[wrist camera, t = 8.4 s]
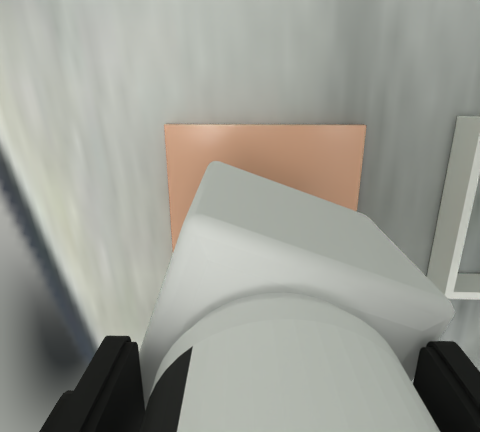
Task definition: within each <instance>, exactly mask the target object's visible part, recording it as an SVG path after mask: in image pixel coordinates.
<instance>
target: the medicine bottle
mask: <svg viewBox="0 0 480 432" xmlns="http://www.w3.org/2000/svg"><path fill="white" fill-rule="evenodd" d="M454 315H455V310H454V307H453V305H452V303H451V301H450V300H449V299H448V298H447V297H446V296H445V295H444V294H443V293H442V292H441V291H440V290H439V289H438V288H437V287H436V286H435V285H434V284H433V283H432V282H431V281H430V280H429V279H428V278H427V277H426V276H425V275H424V274H423V272H422V271H421V270H420V269H419V268H418V267H417V266H416V265H415V264H414V263H413V262H412V261H411V260H410V259H409V258H408V257H407V256H406V255H405V254H404V253H403V252H402V251H401V250H400V249H399V248H398V247H397V246H396V245H395V244H394V243H393V242H392V241H391V240H390V239H389V238H388V237H387V236H386V235H385V234H384V233H383V231H382V230H381V229H380V228H379V227H378V226H377V225H376V224H375V223H374V222H373V221H372V220H371V219H370V218H369V217H368V216H366V215H365V214H362V213H360V212H357V211H354V210H351V209H349V208H346V207H343V206H340V205H338V204H335V203H332V202H329V201H327V200H324V199H321V198H318V197H316V196H313V195H310V194H308V193H305V192H302V191H299V190H297V189H294V188H291V187H288V186H286V185H283V184H280V183H277V182H275V181H272V180H269V179H266V178H264V177H261V176H258V175H255V174H253V173H250V172H247V171H244V170H242V169H239V168H236V167H233V166H231V165H228V164H225V163H223V162H220V161H213V162H211V163H210V164H209V165H208V166H207V169H206V171H205V173H204V176H203V178H202V180H201V183H200V185H199V187H198V190H197V192H196V194H195V197H194V199H193V201H192V204H191V206H190V208H189V211H188V213H187V215H186V218H185V220H184V222H183V225H182V228H181V231H180V234H179V237H178V240H177V243H176V246H175V249H174V252H173V254H172V257H171V260H170V263H169V266H168V269H167V272H166V275H165V278H164V281H163V284H162V287H161V290H160V293H159V296H158V299H157V302H156V305H155V308H154V311H153V313H152V316H151V319H150V322H149V325H148V328H147V331H146V334H145V337H144V340H143V343H142V346H141V349H140V352H139V360H140V369H141V378H142V387H143V395H144V404H145V414H144V417H143V420H142V424H141V427H140V430H139V432H440V431H439V429H438V427H437V425H436V424H435V422H434V420H433V418H432V417H431V415H430V413H429V411H428V410H427V408H426V406H425V405H424V403H423V401H422V399H421V398H420V396H419V394H418V392H417V391H416V389H415V387H414V385H413V384H412V382H411V381H412V380H413V378H414V377H415V372H416V367H417V362H418V357H419V352H420V349H421V348H422V347H426V345H427V343H428V342H430V341H439V339H440V338H441V336H442V335H443V333H444V332H445V330H446V328H447V327H448V325H449V324H450V322H451V321H452V319H453V318H454Z"/></svg>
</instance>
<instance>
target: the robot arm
mask: <svg viewBox="0 0 480 432" xmlns="http://www.w3.org/2000/svg"><path fill="white" fill-rule="evenodd" d="M413 385H414V387H415V389H416V391H417V392H418V394H419V396H420V398H421V399H422V401H423V403H424V405H425V406H426V408H427V410H428V411H429V413H430V415H431V417H432V418H433V420H434V422H435V424H436V425H437V427H438V429H439V431H440V432H480V372H479V371H478V369H477V368H476V367H475V366H474V364H473V363H472V362H471V361H470V359H469V358H468V357H467V356H466V354H465V353H464V352H463V351H462V349H461V348H460V347H459V346H458V345H457V344H456V343H455V342H453V341H430V342H428V343H427V345H426V347H422V348H421V349H420V352H419V357H418V362H417V367H416V372H415V377H414V382H413ZM144 414H145V404H144V395H143V387H142V378H141V369H140V360H139V351H138V344H137V342H131V339H130V337H129V336H106V337H105V338H104V340H103V341H102V343H101V345H100V346H99V348H98V350H97V352H96V353H95V355H94V357H93V359H92V360H91V362H90V364H89V366H88V367H87V369H86V371H85V373H84V374H83V376H82V378H81V379H80V381H79V383H78V385H77V386H76V388H75V390H74V391H66V392H65V393H63V395H62V396H61V397H60V399H59V400H58V402H57V403H56V405H55V407H54V409H53V410H52V412H51V413H50V415H49V417H48V418H47V420H46V422H45V423H44V425H43V427H42V428H41V430H40V431H39V432H139V430H140V427H141V424H142V420H143V417H144Z"/></svg>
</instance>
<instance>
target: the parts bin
mask: <svg viewBox="0 0 480 432" xmlns="http://www.w3.org/2000/svg"><path fill="white" fill-rule="evenodd" d="M479 176H480V116H458V117H457V122H456V127H455V132H454V137H453V143H452V148H451V153H450V158H449V163H448V169H447V174H446V179H445V184H444V189H443V195H442V200H441V205H440V210H439V215H438V221H437V226H436V231H435V236H434V241H433V247H432V252H431V257H430V262H429V267H428V273H427V278H428V279H429V280H430V281H431V282H432V283H433V284H434V285H435V286H436V287H437V288H438V289H439V290H440V291H441V292H442V293H443V294H444V295H445V296H446V297H447V298H448V299H480V274H475V273H458V270H459V265H460V261H461V256H462V252H463V247H464V243H465V238H466V234H467V229H468V225H469V220H470V216H471V211H472V207H473V202H474V198H475V194H476V189H477V185H478V180H479Z"/></svg>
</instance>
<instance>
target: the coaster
mask: <svg viewBox="0 0 480 432" xmlns="http://www.w3.org/2000/svg"><path fill="white" fill-rule="evenodd" d="M164 129H165V144H166V158H167V173H168V188H169V203H170V217H171V232H172V247H173V252H174V249H175V246H176V243H177V240H178V237H179V234H180V231H181V228H182V225H183V222H184V220H185V218H186V215H187V213H188V211H189V208H190V206H191V204H192V201H193V199H194V197H195V194H196V192H197V190H198V187H199V185H200V183H201V180H202V178H203V176H204V173H205V171H206V169H207V166H208V165H209V164H210V163H211V162H213V161H220V162H223V163H225V164H228V165H231V166H233V167H236V168H239V169H242V170H244V171H247V172H250V173H253V174H255V175H258V176H261V177H264V178H266V179H269V180H272V181H275V182H277V183H280V184H283V185H286V186H288V187H291V188H294V189H297V190H299V191H302V192H305V193H308V194H310V195H313V196H316V197H318V198H321V199H324V200H327V201H329V202H332V203H335V204H338V205H340V206H343V207H346V208H349V209H351V210H354V211H357V205H358V196H359V187H360V178H361V169H362V160H363V151H364V143H365V134H366V125H364V124H165V125H164Z"/></svg>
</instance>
